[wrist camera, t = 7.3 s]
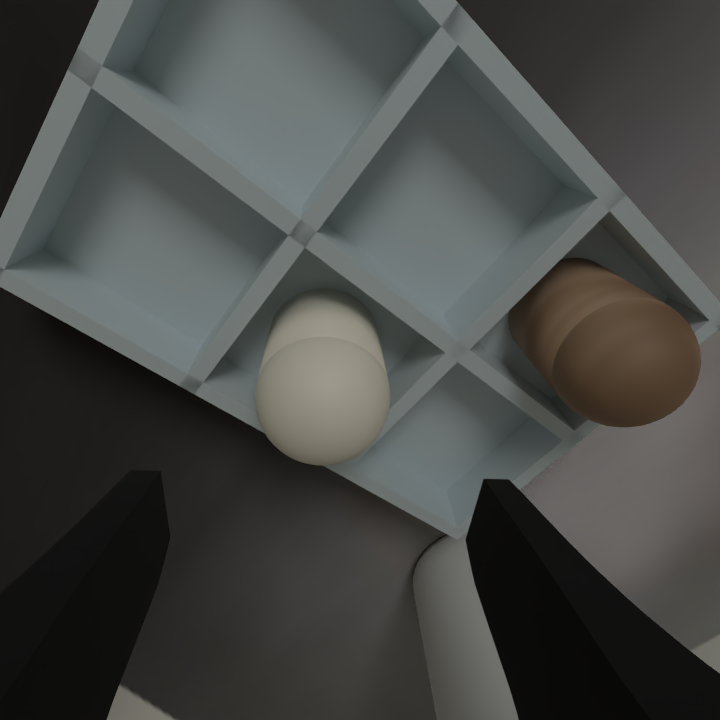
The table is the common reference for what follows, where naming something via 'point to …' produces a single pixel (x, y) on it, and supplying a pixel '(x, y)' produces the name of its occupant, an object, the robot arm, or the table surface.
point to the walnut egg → (606, 344)
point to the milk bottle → (458, 637)
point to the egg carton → (327, 218)
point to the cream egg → (322, 379)
